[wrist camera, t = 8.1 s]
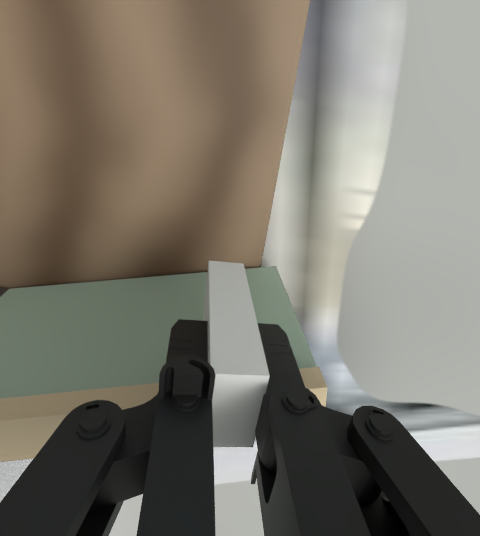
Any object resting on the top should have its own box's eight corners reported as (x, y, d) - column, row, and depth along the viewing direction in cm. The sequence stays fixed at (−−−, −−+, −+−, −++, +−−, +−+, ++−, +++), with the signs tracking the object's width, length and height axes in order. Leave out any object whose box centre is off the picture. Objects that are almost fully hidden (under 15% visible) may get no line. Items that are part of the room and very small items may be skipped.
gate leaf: (-24, 288, 20) (-221, 443, 11) (275, 263, 20) (327, 387, 11) (-11, 316, 20) (-183, 481, 11) (275, 291, 21) (323, 426, 12)
